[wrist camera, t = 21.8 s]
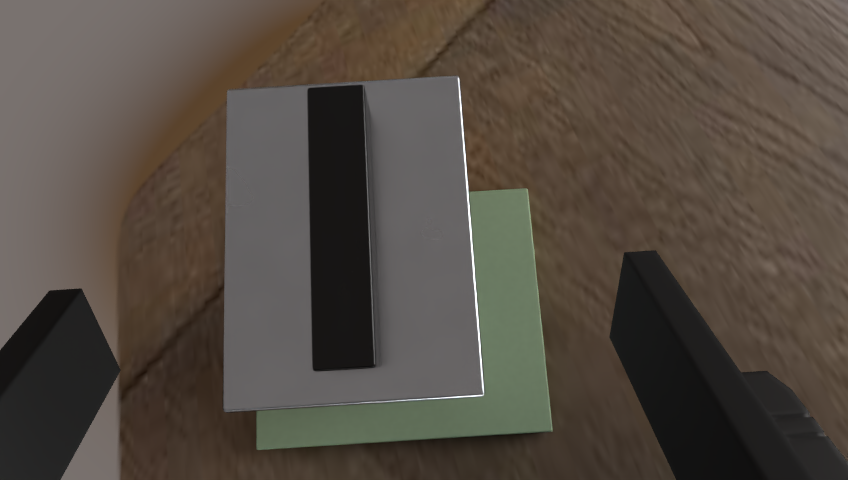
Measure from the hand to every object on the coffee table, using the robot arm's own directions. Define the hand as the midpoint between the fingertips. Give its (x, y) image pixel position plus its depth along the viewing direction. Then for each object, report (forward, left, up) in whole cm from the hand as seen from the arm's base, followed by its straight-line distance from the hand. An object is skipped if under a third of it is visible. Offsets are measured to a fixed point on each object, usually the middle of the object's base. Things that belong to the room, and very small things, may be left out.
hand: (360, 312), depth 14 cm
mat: (0, +1, -15) cm, 15 cm away
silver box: (0, +1, -14) cm, 14 cm away
